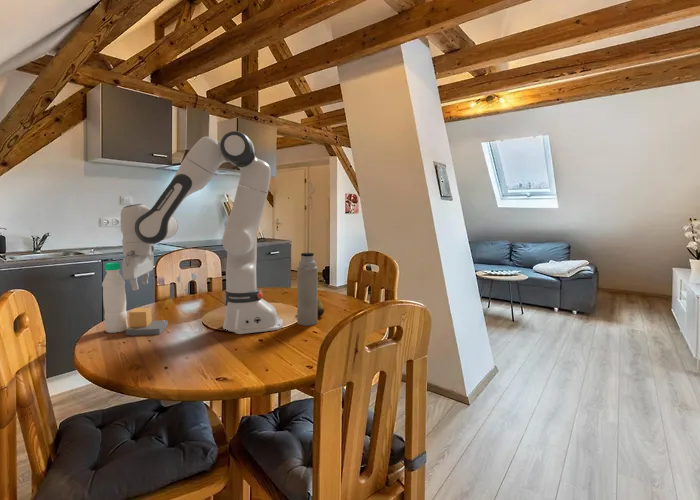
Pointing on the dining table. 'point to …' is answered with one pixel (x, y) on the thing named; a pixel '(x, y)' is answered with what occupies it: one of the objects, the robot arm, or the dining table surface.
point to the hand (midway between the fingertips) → (140, 287)
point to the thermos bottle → (307, 290)
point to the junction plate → (148, 328)
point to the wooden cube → (140, 317)
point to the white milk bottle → (114, 299)
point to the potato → (320, 308)
